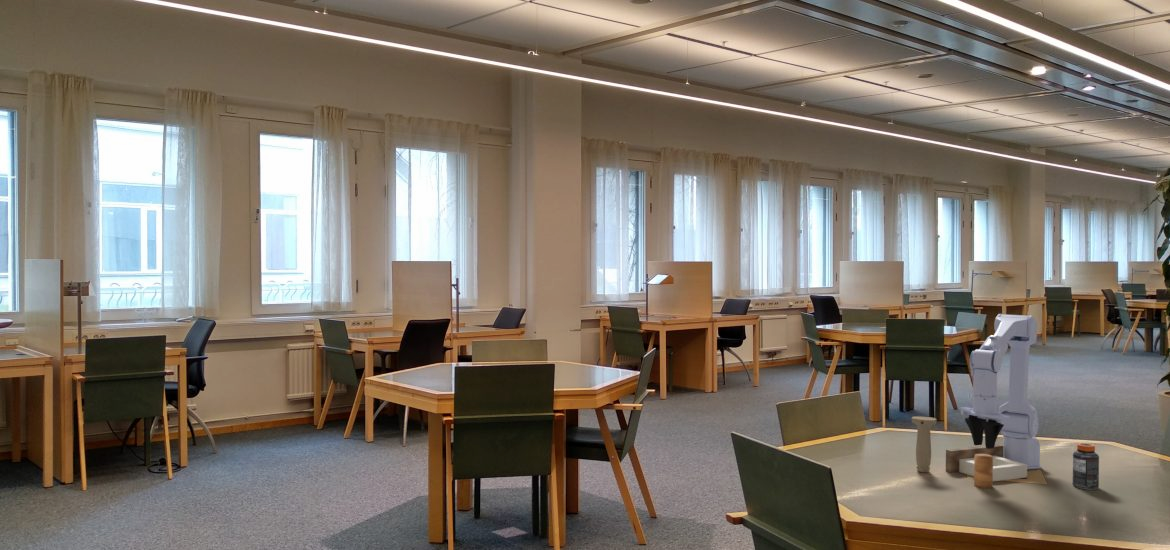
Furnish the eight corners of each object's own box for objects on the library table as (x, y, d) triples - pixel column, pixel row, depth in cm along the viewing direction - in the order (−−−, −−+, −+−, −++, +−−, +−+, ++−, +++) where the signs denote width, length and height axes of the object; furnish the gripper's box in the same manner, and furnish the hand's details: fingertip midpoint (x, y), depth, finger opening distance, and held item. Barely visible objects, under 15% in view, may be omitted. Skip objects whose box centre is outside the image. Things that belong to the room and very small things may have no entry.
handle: (933, 475, 236) (934, 421, 236) (909, 471, 240) (910, 418, 239) (937, 471, 240) (937, 418, 240) (913, 468, 244) (913, 415, 243)
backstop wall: (997, 465, 247) (997, 444, 247) (1003, 466, 245) (1003, 445, 245) (945, 470, 241) (945, 449, 241) (950, 472, 239) (951, 451, 239)
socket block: (994, 467, 244) (995, 455, 244) (1026, 477, 234) (1027, 464, 234) (959, 471, 240) (959, 459, 240) (990, 481, 229) (990, 468, 229)
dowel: (983, 482, 228) (983, 453, 228) (996, 487, 224) (996, 456, 224) (970, 484, 227) (970, 454, 227) (983, 488, 223) (983, 458, 222)
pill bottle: (1095, 485, 226) (1096, 442, 226) (1101, 491, 221) (1102, 447, 221) (1070, 483, 228) (1071, 441, 228) (1074, 488, 223) (1075, 445, 222)
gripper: (952, 391, 230) (951, 441, 231) (995, 400, 217) (994, 453, 217) (972, 390, 233) (971, 439, 233) (1016, 399, 219) (1015, 451, 219)
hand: (983, 446), depth 225 cm, fingers open, 3 cm apart
